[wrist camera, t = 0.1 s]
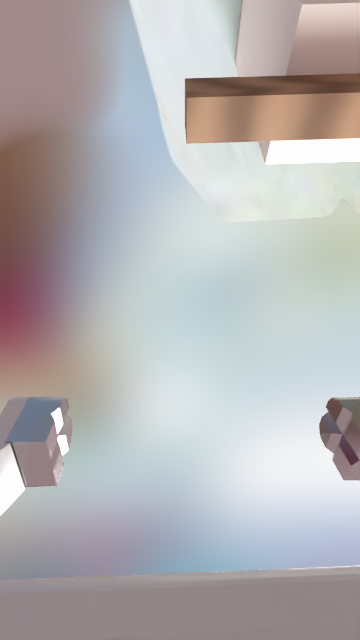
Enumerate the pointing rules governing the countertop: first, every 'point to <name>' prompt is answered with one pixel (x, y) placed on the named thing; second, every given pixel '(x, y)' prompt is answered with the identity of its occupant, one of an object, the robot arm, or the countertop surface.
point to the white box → (301, 60)
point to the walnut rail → (272, 108)
